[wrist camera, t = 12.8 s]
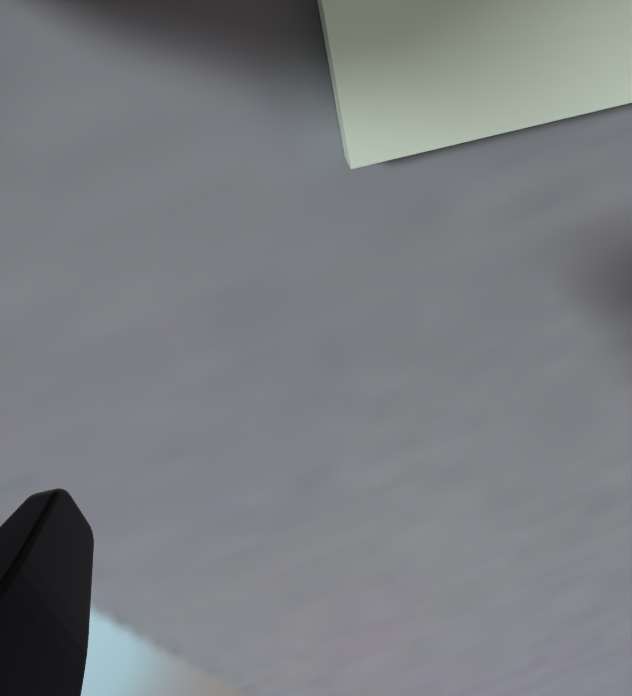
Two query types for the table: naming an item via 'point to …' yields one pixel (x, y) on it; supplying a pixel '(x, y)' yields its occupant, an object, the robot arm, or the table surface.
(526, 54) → the green pad
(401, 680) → the table surface
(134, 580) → the table surface
